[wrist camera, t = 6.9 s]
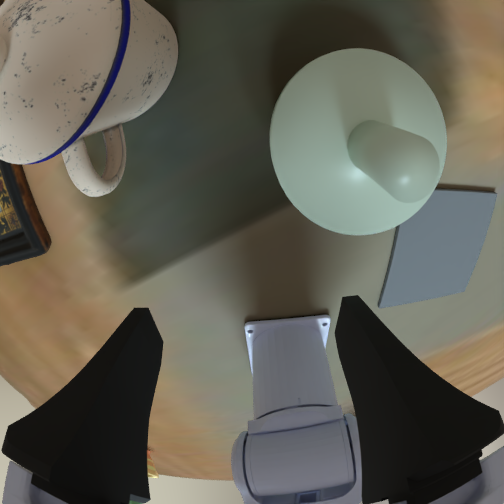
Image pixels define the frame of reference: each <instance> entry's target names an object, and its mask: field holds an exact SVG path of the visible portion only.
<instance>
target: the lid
mask: <svg viewBox="0 0 504 504" xmlns="http://www.w3.org/2000/svg"><path fill="white" fill-rule="evenodd" d="M269 145H270V153H271V159H272V163H273V166H274V170H275V173H276V175H277V178H278V180H279V183H280V185H281V187H282V188H283V190H284V192H285V194H286V196H287V197H288V198H289V200H290V201H291V202H292V204H293V205H294V206H295V207H296V208H297V209H298V210H299V211H300V212H301V213H302V214H303V215H304V216H306V217H307V218H308V219H309V220H311V221H312V222H314V223H316V224H317V225H319V226H321V227H323V228H325V229H328V230H330V231H333V232H337V233H341V234H347V235H370V234H376V233H380V232H384V231H386V230H389V229H392V228H394V227H396V226H398V225H400V224H402V223H403V222H405V221H406V220H408V219H409V218H410V217H412V216H413V215H414V214H415V213H416V212H417V211H419V209H420V208H421V207H422V206H423V205H424V204H425V203H426V202H427V200H428V199H429V197H430V196H431V195H432V193H433V191H434V190H435V188H436V186H437V184H438V182H439V179H440V177H441V174H442V171H443V168H444V163H445V158H446V149H447V136H446V127H445V121H444V118H443V114H442V111H441V108H440V106H439V103H438V101H437V99H436V97H435V95H434V94H433V92H432V90H431V89H430V87H429V86H428V85H427V83H426V82H425V81H424V80H423V78H422V77H421V76H420V75H419V74H418V73H417V72H416V71H415V70H413V69H412V68H411V67H410V66H408V65H407V64H406V63H404V62H402V61H401V60H399V59H397V58H395V57H393V56H391V55H388V54H386V53H383V52H379V51H376V50H371V49H362V48H353V49H343V50H338V51H334V52H331V53H328V54H326V55H323V56H321V57H319V58H317V59H315V60H313V61H311V62H310V63H308V64H306V65H305V66H304V67H303V68H301V69H300V70H299V71H298V72H297V73H296V74H295V75H294V76H293V77H292V78H291V79H290V80H289V81H288V83H287V84H286V86H285V87H284V89H283V90H282V92H281V93H280V96H279V98H278V100H277V102H276V104H275V107H274V111H273V114H272V117H271V124H270V130H269Z"/></svg>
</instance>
